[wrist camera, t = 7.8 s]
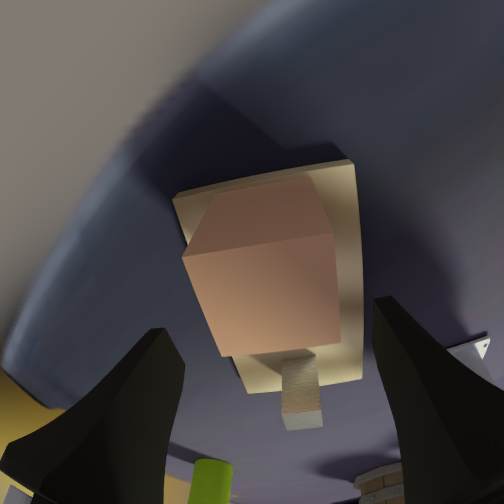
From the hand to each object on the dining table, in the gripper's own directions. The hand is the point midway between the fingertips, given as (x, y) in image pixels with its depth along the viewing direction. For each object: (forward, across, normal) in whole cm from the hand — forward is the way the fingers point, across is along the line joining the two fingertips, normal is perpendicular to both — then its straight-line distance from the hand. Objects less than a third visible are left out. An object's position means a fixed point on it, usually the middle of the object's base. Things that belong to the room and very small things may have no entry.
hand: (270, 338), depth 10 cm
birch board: (+9, 0, +6) cm, 11 cm away
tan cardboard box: (+8, 0, 0) cm, 8 cm away
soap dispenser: (+10, +16, +37) cm, 41 cm away
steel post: (+8, 0, +12) cm, 14 cm away
